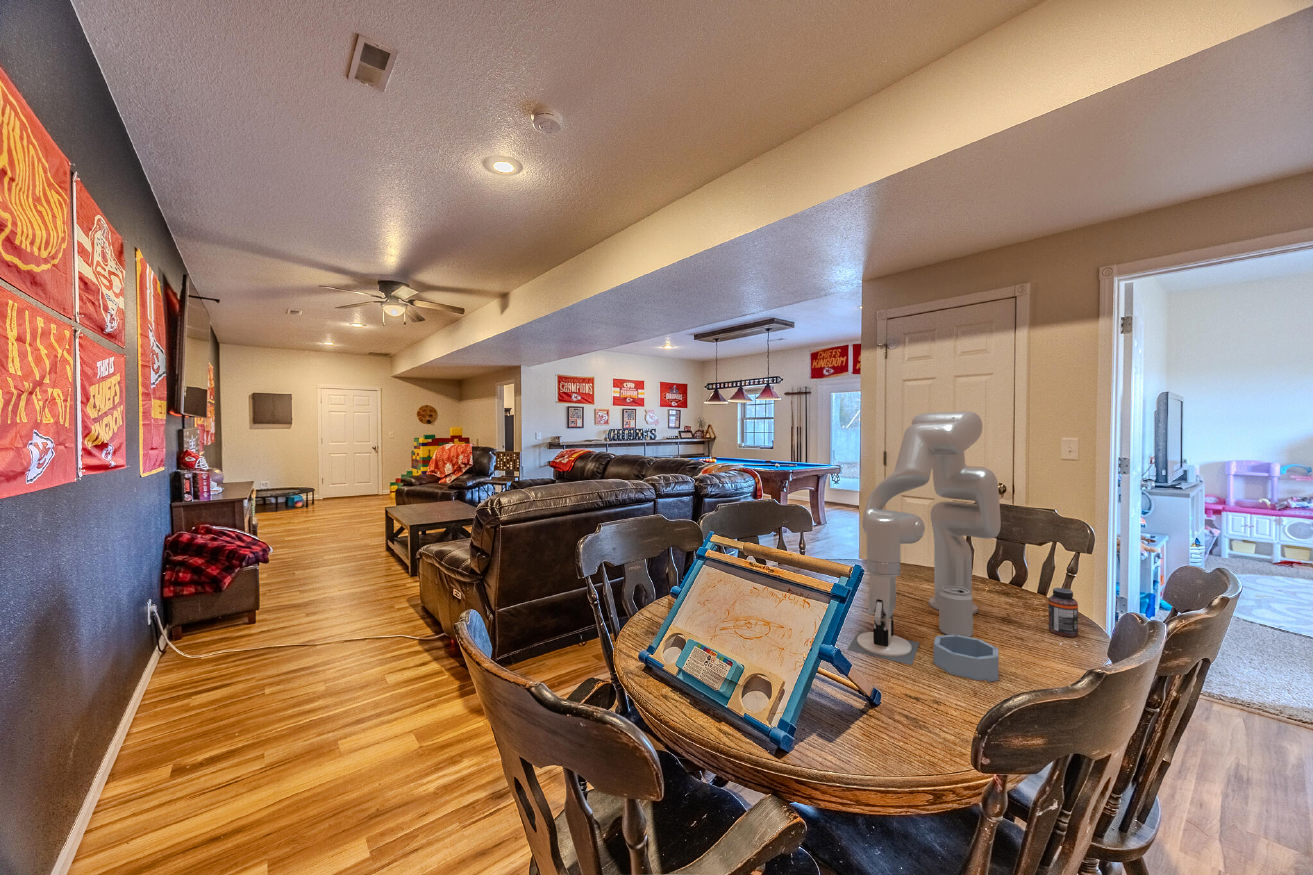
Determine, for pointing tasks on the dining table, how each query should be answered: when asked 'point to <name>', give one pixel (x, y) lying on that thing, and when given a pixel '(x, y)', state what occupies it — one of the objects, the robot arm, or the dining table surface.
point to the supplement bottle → (1063, 613)
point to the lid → (894, 649)
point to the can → (955, 611)
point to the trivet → (905, 659)
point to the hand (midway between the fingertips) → (883, 639)
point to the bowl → (967, 657)
